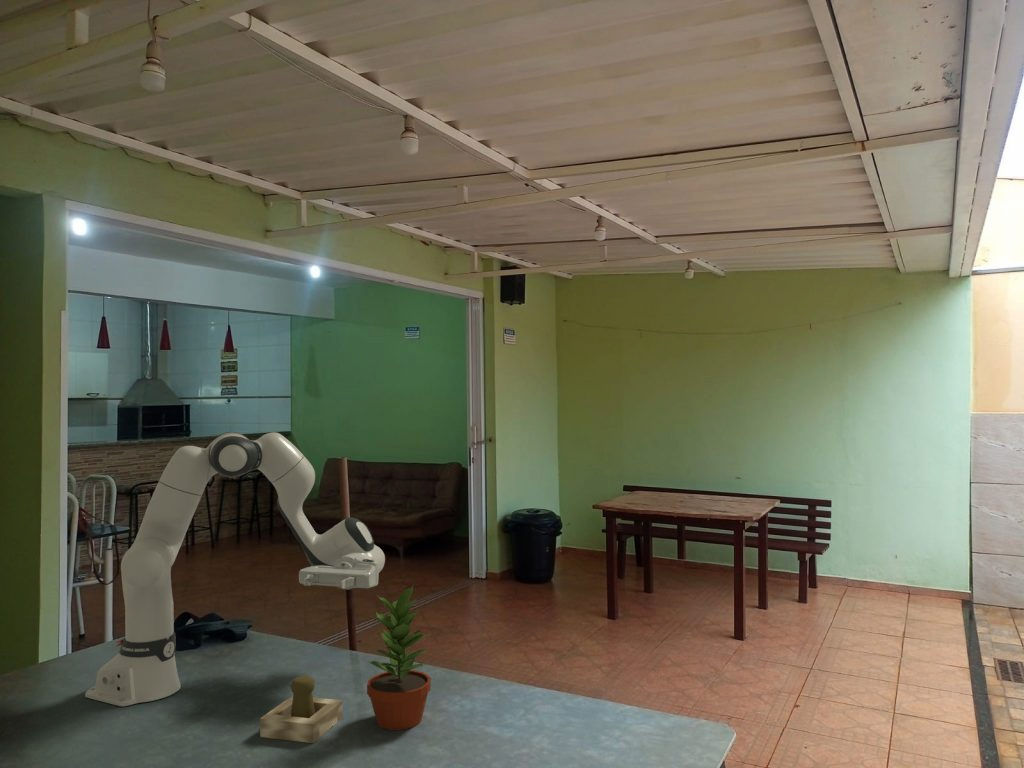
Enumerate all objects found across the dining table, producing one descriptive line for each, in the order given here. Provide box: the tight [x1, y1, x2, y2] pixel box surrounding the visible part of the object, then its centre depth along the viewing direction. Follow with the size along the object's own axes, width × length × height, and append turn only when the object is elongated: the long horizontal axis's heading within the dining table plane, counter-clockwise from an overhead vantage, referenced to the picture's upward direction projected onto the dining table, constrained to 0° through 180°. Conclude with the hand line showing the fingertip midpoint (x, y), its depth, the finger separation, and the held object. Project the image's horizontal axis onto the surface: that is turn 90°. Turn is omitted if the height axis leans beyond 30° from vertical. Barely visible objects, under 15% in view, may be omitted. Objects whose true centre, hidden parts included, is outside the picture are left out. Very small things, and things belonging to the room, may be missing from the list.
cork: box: [290, 675, 316, 718], centre depth 166 cm, size 6×6×11 cm
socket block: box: [259, 695, 344, 744], centre depth 166 cm, size 13×13×4 cm
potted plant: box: [366, 585, 432, 731], centre depth 169 cm, size 15×15×30 cm
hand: (322, 583), depth 185 cm, fingers open, 8 cm apart
